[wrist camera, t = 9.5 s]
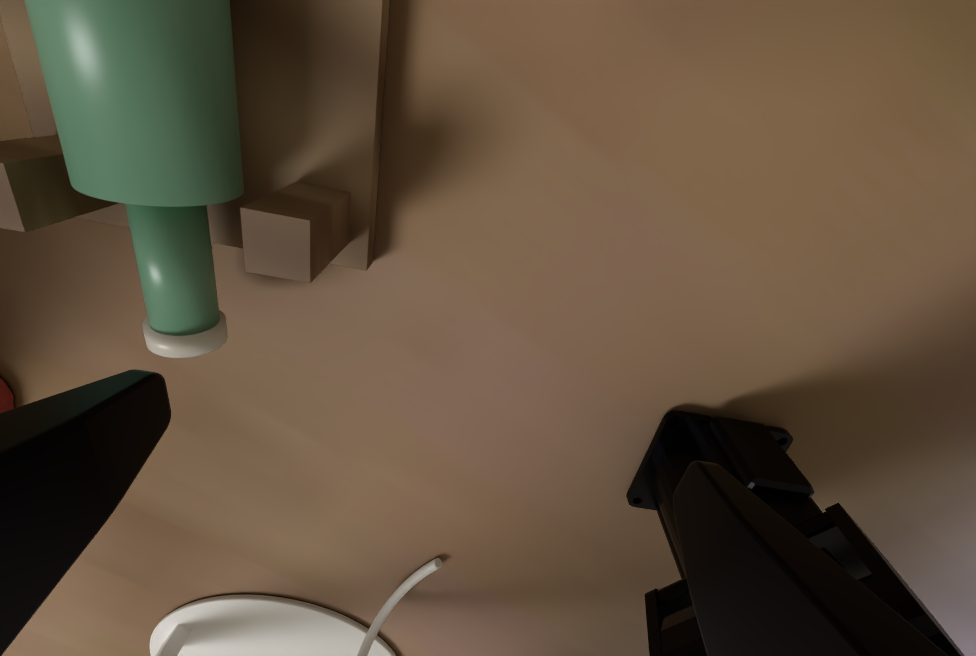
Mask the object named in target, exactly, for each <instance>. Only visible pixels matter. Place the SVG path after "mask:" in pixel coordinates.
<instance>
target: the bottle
mask: <svg viewBox="0 0 976 656" xmlns="http://www.w3.org/2000/svg"><path fill="white" fill-rule="evenodd" d="M24 1H25V5H26V9H27V13H28V17H29V21H30V25H31V29H32V33H33V37H34V41H35V45H36V49H37V52H38V56H39V60H40V64H41V68H42V72H43V76H44V80H45V84H46V88H47V92H48V96H49V100H50V104H51V108H52V112H53V116H54V119H55V123H56V127H57V131H58V135H59V139H60V143H61V147H62V151H63V155H64V159H65V163H66V167H67V171H68V175H69V179H70V183H71V185H72V187H73V188H74V189H75V190H77V191H79V192H80V193H83V194H85V195H88V196H91V197H94V198H98V199H102V200H107V201H112V202H118V203H125V206H126V211H127V216H128V221H129V226H130V231H131V236H132V241H133V246H134V251H135V256H136V261H137V266H138V271H139V276H140V281H141V286H142V291H143V295H144V300H145V305H146V310H147V315H148V316H147V317H146V318H145V320H144V321H143V324H142V325H143V331H144V335H145V340H146V345H147V347H148V349H149V350H150V351H151V352H153V353H155V354H157V355H160V356H164V357H172V358H186V357H194V356H199V355H203V354H206V353H209V352H212V351H214V350H216V349H218V348H219V347H221V346H222V345H223V344H224V343H225V342H226V340H227V338H228V334H227V325H226V317H225V315H224V313H223V312H222V311H220V310H219V307H218V298H217V290H216V281H215V272H214V264H213V255H212V246H211V237H210V229H209V220H208V211H207V205H211V204H218V203H223V202H228V201H231V200H234V199H236V198H238V197H240V196H241V195H242V194H243V193H244V185H243V172H242V158H241V145H240V131H239V118H238V105H237V91H236V78H235V65H234V51H233V38H232V24H231V11H230V0H24Z"/></svg>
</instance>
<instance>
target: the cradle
mask: <svg viewBox="0 0 976 656" xmlns="http://www.w3.org/2000/svg"><path fill="white" fill-rule="evenodd" d="M389 7H390V0H230V11H231V24H232V38H233V51H234V65H235V78H236V91H237V105H238V118H239V131H240V145H241V158H242V172H243V185H244V193H243V194H242V195H241V196H240V197H238V198H236V199H234V200H231V201H228V202H223V203H218V204H211V205H207V211H208V220H209V229H210V237H211V243H217V244H222V245H228V246H234V247H239V248H243V251H244V264H245V272H251V273H257V274H262V275H268V276H273V277H279V278H285V279H290V280H296V281H301V282H307V283H311V282H312V281H313V280H314V279H315V278H316V277H317V276H318V275H319V274H320V273H321V272H322V270H323V269H324V268H325V267H326V266H327V265H328V264H333V265H338V266H344V267H349V268H355V269H360V270H366V271H367V269H368V268H369V267H370V265H371V264H372V262H373V252H374V236H375V221H376V206H377V190H378V175H379V160H380V145H381V129H382V114H383V99H384V84H385V68H386V53H387V38H388V23H389ZM0 17H1V21H2V24H3V28H4V31H5V35H6V39H7V42H8V46H9V49H10V53H11V57H12V60H13V64H14V67H15V71H16V75H17V78H18V82H19V85H20V89H21V93H22V96H23V100H24V103H25V107H26V111H27V114H28V118H29V121H30V125H31V129H32V132H33V136H34V137H33V138H24V139H15V140H6V141H0V228H4V229H9V230H15V231H21V232H28V231H31V230H34V229H37V228H41V227H44V226H47V225H50V224H54V223H57V222H60V221H64V220H67V219H70V218H79V219H85V220H90V221H96V222H101V223H107V224H112V225H118V226H123V227H129V228H130V226H129V221H128V216H127V211H126V206H125V203H118V202H112V201H107V200H102V199H98V198H94V197H91V196H88V195H85V194H83V193H80V192H79V191H77V190H75V189H74V188H73V187H72V185H71V183H70V179H69V175H68V171H67V167H66V163H65V159H64V155H63V151H62V147H61V143H60V139H59V135H58V131H57V127H56V123H55V119H54V116H53V112H52V108H51V104H50V100H49V96H48V92H47V88H46V84H45V80H44V76H43V72H42V68H41V64H40V60H39V56H38V52H37V49H36V45H35V41H34V37H33V33H32V29H31V25H30V21H29V17H28V13H27V9H26V5H25V1H24V0H0Z"/></svg>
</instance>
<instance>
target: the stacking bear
mask: <svg viewBox="0 0 976 656" xmlns="http://www.w3.org/2000/svg"><path fill="white" fill-rule="evenodd" d="M13 399H14V398H13V394H12V392H11V391H10V389H9V387H8V386H7V385H6V383H5V382H4V381H3V380H2V379H1V378H0V413H2V412H5V411H8V410H11V409H14V405H13Z"/></svg>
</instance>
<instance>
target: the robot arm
mask: <svg viewBox="0 0 976 656" xmlns="http://www.w3.org/2000/svg"><path fill="white" fill-rule="evenodd" d="M170 419H171V408H170V403H169V398H168V393H167V388H166V383H165V379H164V378H163V376H162V375H161V374H158V373H155V372H149V371H143V370H129V371H126V372H123V373H120V374H117V375H114V376H111V377H108V378H105V379H102V380H99V381H96V382H93V383H90V384H87V385H84V386H81V387H78V388H75V389H72V390H69V391H66V392H63V393H59V394H56V395H53V396H50V397H47V398H44V399H41V400H38V401H35V402H32V403H29V404H26V405H23V406H20V407H17V408H14V409H11V410H8V411H5V412H2V413H0V656H2V654H3V653H4V652H5V650H6V649H7V648H8V647H9V645H10V644H11V643H12V641H13V640H14V639H15V638H16V636H17V635H18V634H19V633H20V631H21V630H22V629H23V627H24V626H25V625H26V624H27V622H28V621H29V620H30V618H31V617H32V616H33V615H34V613H35V612H36V611H37V609H38V608H39V607H40V606H41V604H42V603H43V602H44V601H45V599H46V598H47V597H48V595H49V594H50V593H51V592H52V590H53V589H54V588H55V586H56V585H57V584H58V583H59V581H60V580H61V579H62V577H63V576H64V575H65V574H66V572H67V571H68V570H69V568H70V567H71V566H72V565H73V563H74V562H75V561H76V560H77V558H78V557H79V556H80V554H81V553H82V552H83V551H84V549H85V548H86V547H87V545H88V544H89V543H90V542H91V540H92V539H93V538H94V536H95V535H96V534H97V533H98V531H99V530H100V529H101V527H102V526H103V525H104V524H105V522H106V521H107V519H108V518H109V517H110V515H111V514H112V513H113V511H114V510H115V509H116V507H117V506H118V504H119V503H120V501H121V500H122V498H123V497H124V495H125V494H126V492H127V490H128V489H129V487H130V486H131V484H132V483H133V481H134V479H135V478H136V476H137V475H138V473H139V472H140V470H141V468H142V467H143V465H144V464H145V462H146V460H147V459H148V457H149V456H150V454H151V453H152V451H153V449H154V448H155V446H156V445H157V443H158V442H159V440H160V438H161V437H162V435H163V434H164V432H165V431H166V429H167V427H168V425H169V423H170ZM674 420H677V421H676V422H672V421H674ZM780 438H781V439H780ZM778 439H779V440H778ZM792 441H793V438H792V436H791V435H790V434H789V433H788V431H787V430H785V429H783V428H777V427H771V426H765V425H763V424H759V423H753V422H747V421H741V420H735V419H730V418H724V417H712V416H706V415H700V414H694V413H688V412H682V411H670V412H668V413H666V414H665V415H664V417H663V419H662V421H661V423H660V425H659V427H658V429H657V431H656V433H655V436H654V438H653V440H652V442H651V444H650V446H649V448H648V450H647V452H646V454H645V457H644V459H643V461H642V463H641V465H640V467H639V469H638V471H637V473H636V475H635V477H634V480H633V482H632V484H631V486H630V488H629V490H628V492H627V495H626V496H627V500H628V503H629V504H630V505H631V506H633V507H638V508H645V509H651V510H657V513H658V515H659V518H660V521H661V524H662V526H663V529H664V532H665V535H666V537H667V540H668V543H669V546H670V548H671V551H672V554H673V556H674V559H675V562H676V565H677V567H678V570H679V573H680V576H681V578H682V579H681V580H679V581H677V582H675V583H672V584H670V585H668V586H666V587H664V588H662V589H660V590H657V589H654V590H652V591H650V592H648V593H646V594H645V604H646V617H647V629H648V641H649V654H650V656H964V654H963V653H962V652H961V651H960V649H959V648H958V647H957V646H956V644H955V643H954V642H953V640H952V639H951V638H950V637H949V635H948V634H947V633H946V632H945V630H944V629H943V628H942V626H941V625H940V624H939V623H938V621H937V620H936V619H935V618H934V616H933V615H932V614H931V613H930V611H929V610H928V609H927V608H926V607H925V605H924V604H923V603H922V602H921V600H920V599H919V598H918V597H917V596H916V594H915V593H914V592H913V591H912V590H911V588H910V587H909V586H908V585H907V583H906V582H905V581H904V580H903V579H902V577H901V576H900V575H899V574H898V572H897V571H896V570H895V569H894V568H893V566H892V565H891V564H890V563H889V561H888V560H887V559H886V558H885V557H884V556H883V554H882V553H881V552H880V551H879V550H878V549H877V547H876V546H875V545H874V544H873V543H872V541H871V540H870V539H869V538H868V537H867V536H866V534H865V533H864V532H863V531H862V530H861V529H860V527H859V526H858V525H857V524H856V523H855V522H854V520H853V519H852V518H851V517H850V516H849V515H848V513H847V512H846V511H845V510H844V509H843V507H842V506H841V505H840V504H839V503H837V504H835V505H832V506H830V507H828V508H826V509H825V510H826V512H824V513H822V511H821V510H820V509H819V507H818V506H817V505H816V503H815V502H814V501H813V499H812V498H811V496H812V495H813V494H814V490H813V488H812V486H811V484H810V483H809V482H808V481H807V479H806V478H805V477H804V475H803V474H802V473H801V471H800V470H799V469H798V468H797V466H796V465H795V464H794V462H793V461H792V460H791V459H790V457H789V456H788V455H787V453H786V451H787V449H788V448H789V446H790V445H791V443H792Z"/></svg>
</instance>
